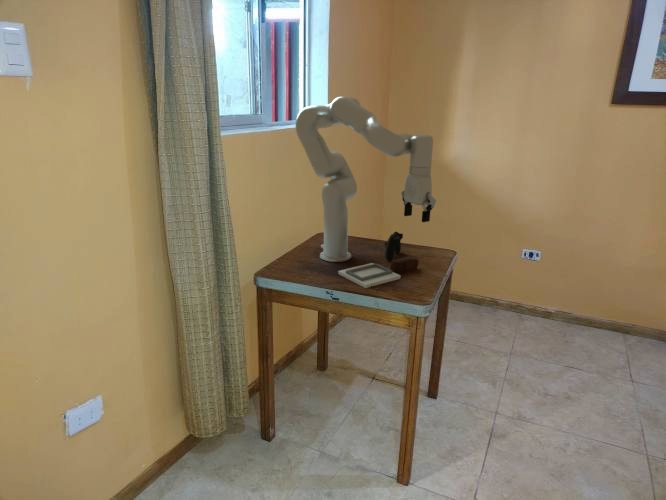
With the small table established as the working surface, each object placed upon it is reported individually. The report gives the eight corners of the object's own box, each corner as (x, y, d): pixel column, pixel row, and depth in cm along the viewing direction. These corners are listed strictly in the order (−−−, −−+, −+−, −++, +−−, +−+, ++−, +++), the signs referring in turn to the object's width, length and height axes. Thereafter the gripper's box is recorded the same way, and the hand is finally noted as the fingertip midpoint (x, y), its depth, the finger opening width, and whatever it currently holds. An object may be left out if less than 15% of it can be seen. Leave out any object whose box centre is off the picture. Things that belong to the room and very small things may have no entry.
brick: (397, 275, 168) (397, 263, 166) (389, 271, 171) (390, 259, 169) (418, 269, 174) (419, 258, 172) (410, 266, 177) (411, 255, 175)
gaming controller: (389, 250, 194) (391, 228, 191) (403, 252, 192) (405, 229, 189) (380, 261, 182) (381, 236, 179) (395, 263, 180) (396, 238, 177)
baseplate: (338, 273, 168) (338, 268, 167) (372, 265, 176) (372, 260, 176) (365, 288, 155) (365, 282, 155) (400, 278, 164) (400, 272, 163)
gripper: (396, 168, 166) (393, 214, 171) (428, 175, 152) (424, 225, 157) (412, 167, 170) (409, 212, 175) (445, 173, 155) (440, 222, 161)
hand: (416, 218), depth 166 cm, fingers open, 9 cm apart
